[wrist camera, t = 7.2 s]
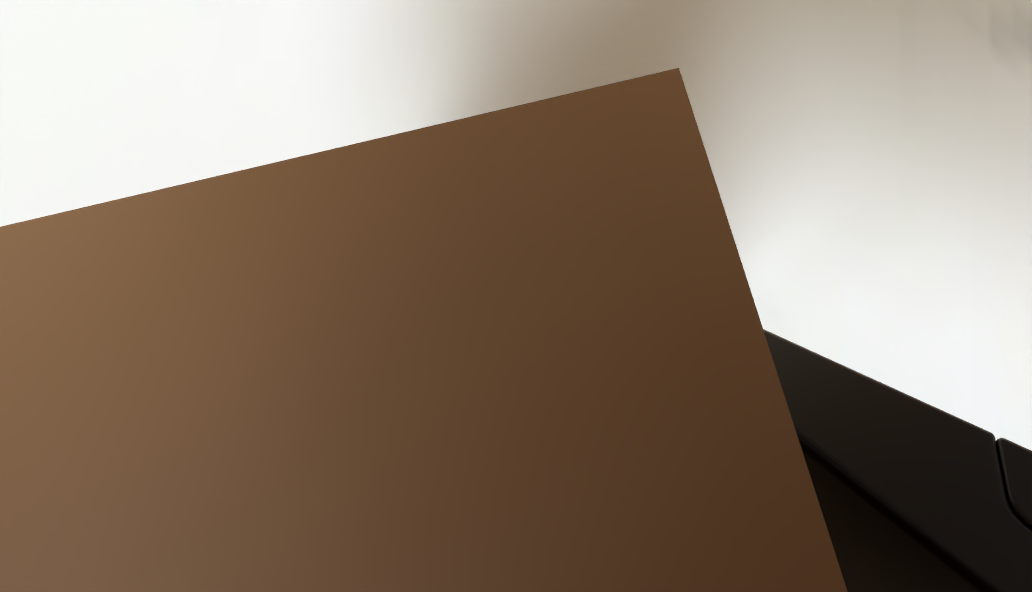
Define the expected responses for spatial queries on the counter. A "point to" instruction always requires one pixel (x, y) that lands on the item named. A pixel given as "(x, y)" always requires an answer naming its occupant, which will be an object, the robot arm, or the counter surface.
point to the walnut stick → (407, 373)
